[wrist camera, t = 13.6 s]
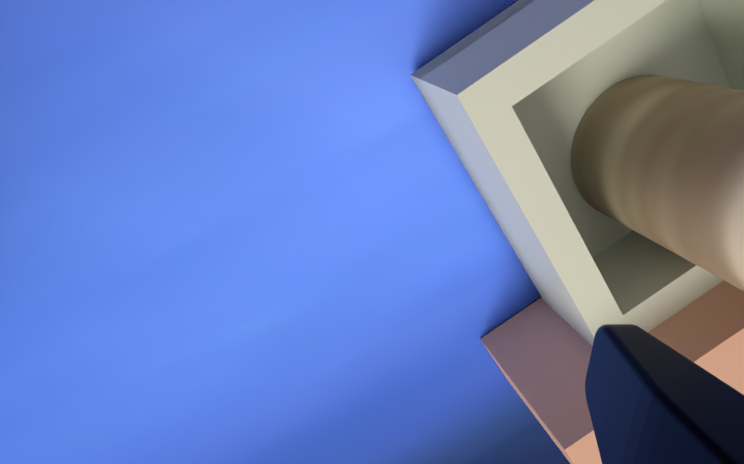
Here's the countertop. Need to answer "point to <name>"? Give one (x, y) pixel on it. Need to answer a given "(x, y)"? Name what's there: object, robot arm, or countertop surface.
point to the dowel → (669, 167)
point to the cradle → (556, 134)
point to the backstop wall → (572, 354)
